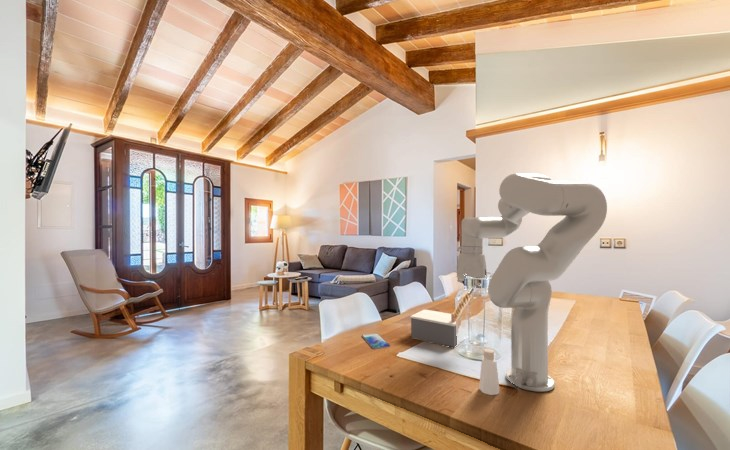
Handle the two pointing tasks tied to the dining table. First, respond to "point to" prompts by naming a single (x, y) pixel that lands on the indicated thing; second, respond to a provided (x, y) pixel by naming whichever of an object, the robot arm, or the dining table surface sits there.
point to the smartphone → (375, 341)
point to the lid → (435, 317)
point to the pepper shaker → (489, 374)
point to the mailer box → (433, 332)
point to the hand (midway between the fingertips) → (471, 298)
